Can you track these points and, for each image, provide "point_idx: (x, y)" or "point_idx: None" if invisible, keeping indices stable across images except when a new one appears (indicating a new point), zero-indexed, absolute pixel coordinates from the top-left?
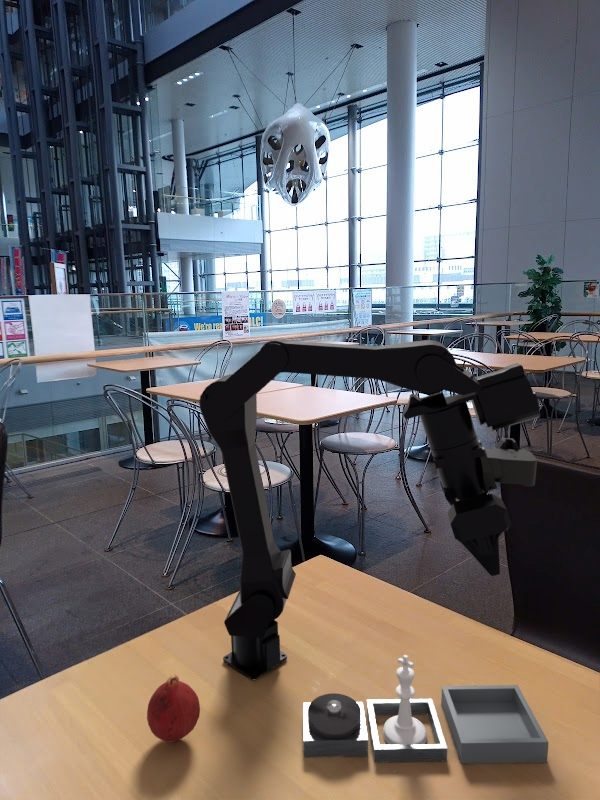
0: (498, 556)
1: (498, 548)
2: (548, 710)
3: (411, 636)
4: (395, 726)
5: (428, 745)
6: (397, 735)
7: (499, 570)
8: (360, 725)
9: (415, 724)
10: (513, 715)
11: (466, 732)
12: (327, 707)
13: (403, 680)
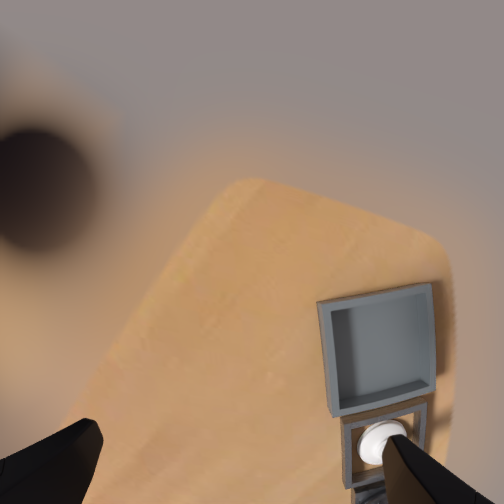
0: (457, 479)
1: (487, 500)
2: (326, 258)
3: (167, 428)
4: None
5: (422, 421)
6: None
7: (411, 442)
8: None
9: (383, 437)
10: (354, 314)
11: (389, 378)
12: None
13: None
